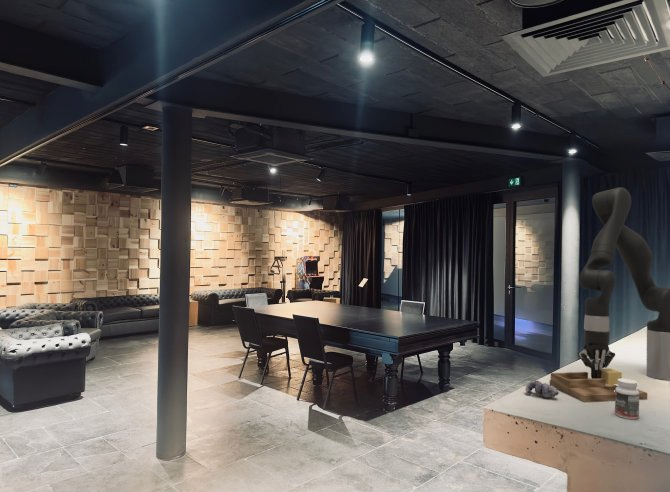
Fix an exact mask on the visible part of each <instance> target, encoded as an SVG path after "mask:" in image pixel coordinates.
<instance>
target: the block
mask: <svg viewBox="0 0 670 492" xmlns="http://www.w3.org/2000/svg"><path fill="white" fill-rule="evenodd" d="M622 374H623V373H622V371H619V370H617V369H614V368H603V369H602V370H601V378H604V379H605V384H607V385H614V384H617V381H618V379H621V378H623V375H622Z"/></svg>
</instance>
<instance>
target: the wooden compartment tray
mask: <svg viewBox="0 0 670 492" xmlns="http://www.w3.org/2000/svg"><path fill="white" fill-rule="evenodd" d="M588 379H592V378H591V377H590V378H589V377H588ZM549 386H553V387H554V388H557V391H558V392H559V391H560V392H562V393H564V394H565V395H568V396H570V397H572V398H575V399H576V400H578V401H580V402H582V403H593V402H594V403H597V402H598V403H599V402H600V403H601V402H615V392H614V390H615V389H616V387H618V386H616V385H607V384H605V387H589V388H566V387H564V386H562V385H560V384H557V383H555V382H553V381H551V379H549ZM636 389H637V390H638V391H639V401H641V400H643V401H644V400H648V392H646V391H643V390H640V389H638V388H636Z"/></svg>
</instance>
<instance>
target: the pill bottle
mask: <svg viewBox="0 0 670 492" xmlns="http://www.w3.org/2000/svg"><path fill="white" fill-rule="evenodd" d="M617 384H618V385H619V386H618V387H616V389H615V401H614V412H615V413H614V414H615V415H616V416H618V417H621V418H622V419H626V420H627V419H628V420H637V419H639V417H640V400H639V391H638V390H639V389H638V388H637V387H638V382H637V381H636V380H633V379H629V378H623V377H622V378H621V379H618V381H617ZM637 389H638V390H637Z"/></svg>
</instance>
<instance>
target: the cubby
mask: <svg viewBox="0 0 670 492" xmlns="http://www.w3.org/2000/svg"><path fill="white" fill-rule="evenodd" d="M550 380H551V381H553V382H555V383H557V384H560V385H562V386H564V387H566V388H589V387H605V379H604V378H598V379H589V372H588V371H576V372H575V371H574V372H570V371H569V372H568V371H567V372H550Z"/></svg>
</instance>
